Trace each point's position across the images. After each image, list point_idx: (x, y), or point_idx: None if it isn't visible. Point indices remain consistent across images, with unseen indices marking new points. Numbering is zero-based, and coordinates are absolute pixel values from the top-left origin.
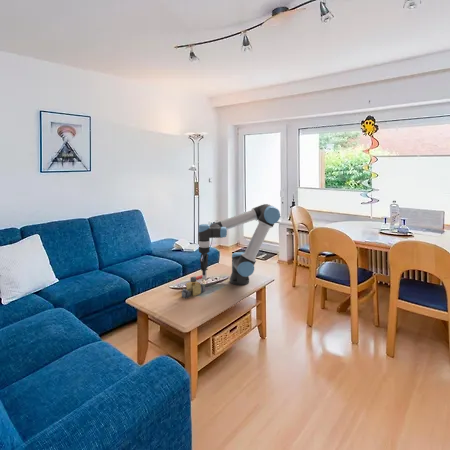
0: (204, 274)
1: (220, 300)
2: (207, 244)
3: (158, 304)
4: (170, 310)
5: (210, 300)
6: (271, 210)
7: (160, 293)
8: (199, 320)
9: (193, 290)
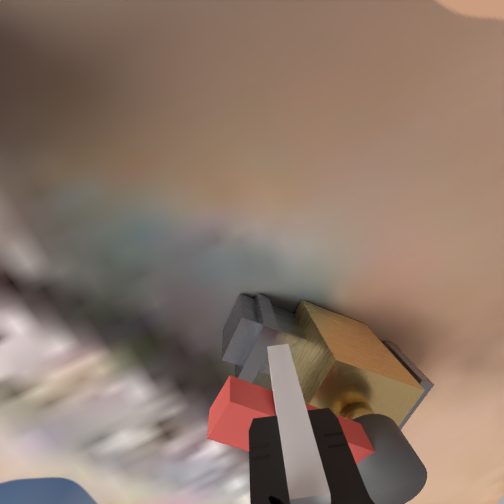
0: (339, 423)
1: (373, 93)
2: None
3: (492, 433)
4: None
5: (390, 180)
6: None
7: None
8: None
9: (387, 353)
